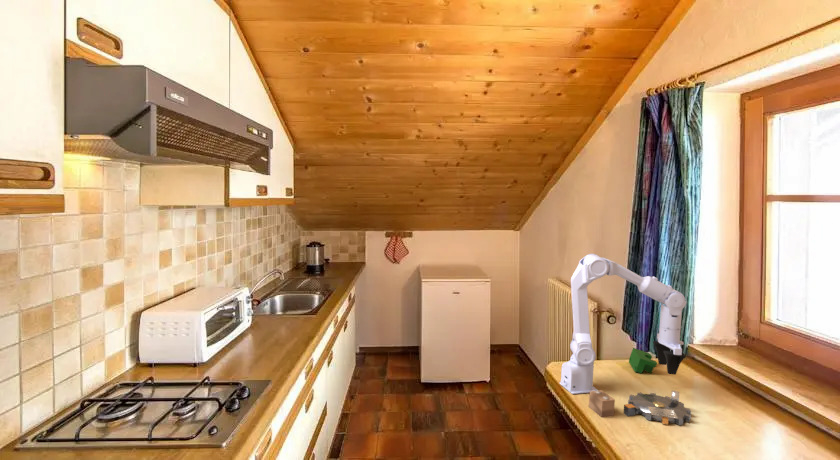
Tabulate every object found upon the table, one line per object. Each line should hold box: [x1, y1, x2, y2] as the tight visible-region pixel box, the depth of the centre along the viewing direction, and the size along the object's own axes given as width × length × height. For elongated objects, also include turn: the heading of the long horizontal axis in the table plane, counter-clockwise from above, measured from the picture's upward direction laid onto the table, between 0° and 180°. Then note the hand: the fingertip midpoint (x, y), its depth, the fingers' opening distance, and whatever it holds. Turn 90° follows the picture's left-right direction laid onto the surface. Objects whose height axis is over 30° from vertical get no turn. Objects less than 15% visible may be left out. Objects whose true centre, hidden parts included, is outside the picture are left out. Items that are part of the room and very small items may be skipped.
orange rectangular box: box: [623, 403, 636, 417], centre depth 123 cm, size 2×2×3 cm
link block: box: [588, 390, 616, 418], centre depth 125 cm, size 6×4×5 cm, turn 12°
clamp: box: [628, 347, 658, 374], centre depth 157 cm, size 12×6×9 cm
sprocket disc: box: [627, 390, 692, 426], centre depth 125 cm, size 16×16×5 cm
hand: (667, 369), depth 135 cm, fingers open, 7 cm apart
